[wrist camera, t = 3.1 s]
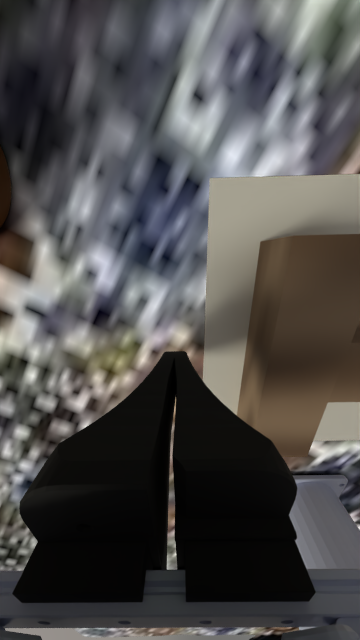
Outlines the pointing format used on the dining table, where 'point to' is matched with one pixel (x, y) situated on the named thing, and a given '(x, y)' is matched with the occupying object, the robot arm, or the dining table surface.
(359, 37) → the dining table surface
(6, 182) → the mug
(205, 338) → the mat
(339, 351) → the t block
